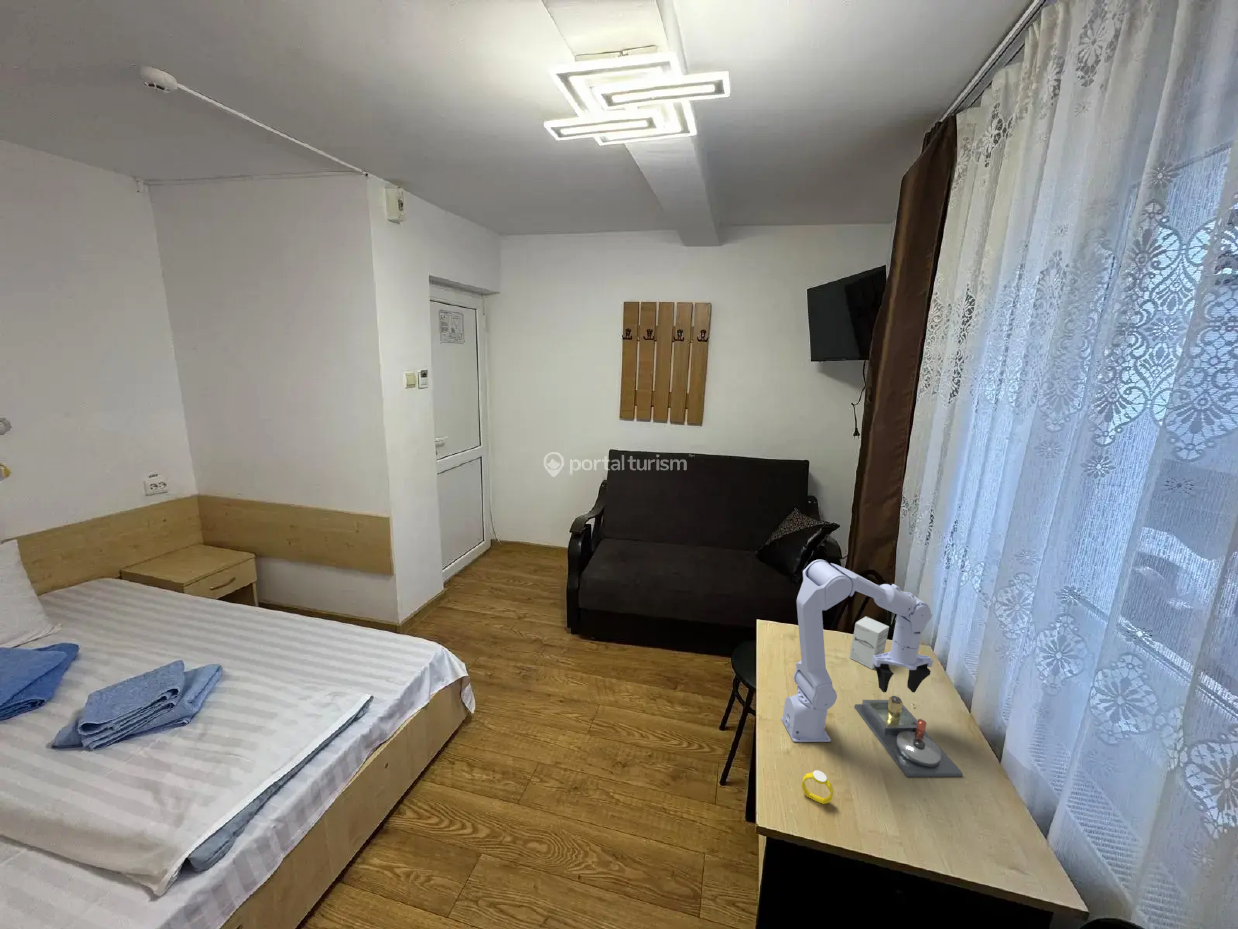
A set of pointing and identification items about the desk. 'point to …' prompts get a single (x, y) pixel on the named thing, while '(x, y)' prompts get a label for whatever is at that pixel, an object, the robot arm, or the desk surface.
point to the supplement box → (868, 641)
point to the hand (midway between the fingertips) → (896, 689)
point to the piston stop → (894, 710)
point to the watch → (820, 779)
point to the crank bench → (887, 735)
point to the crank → (918, 746)
